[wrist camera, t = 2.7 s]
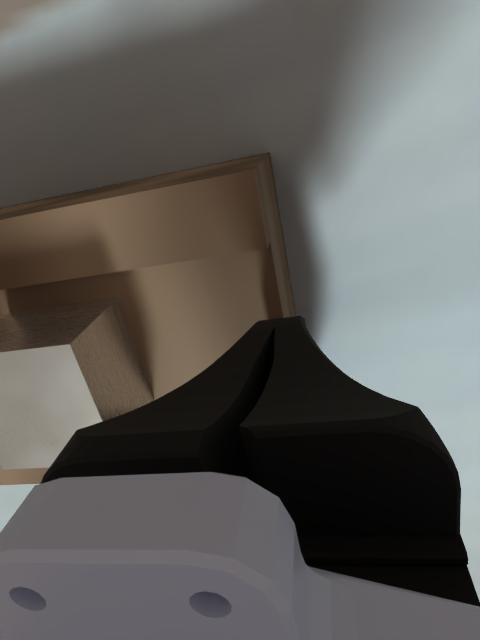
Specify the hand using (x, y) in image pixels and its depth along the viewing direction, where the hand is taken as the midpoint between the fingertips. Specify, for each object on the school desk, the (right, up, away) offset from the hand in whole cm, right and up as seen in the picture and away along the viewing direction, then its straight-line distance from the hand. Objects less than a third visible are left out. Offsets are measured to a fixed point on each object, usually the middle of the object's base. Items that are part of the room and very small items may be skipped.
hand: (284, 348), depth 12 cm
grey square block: (-7, -1, +2) cm, 7 cm away
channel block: (-7, +1, +6) cm, 9 cm away
